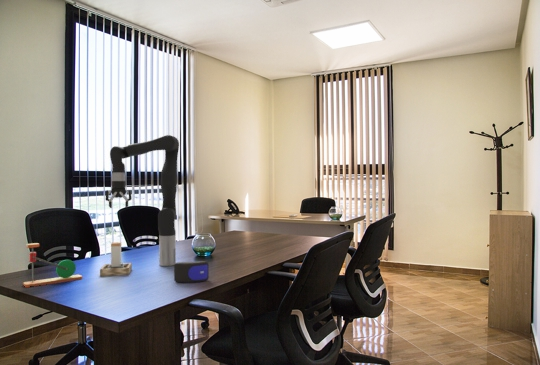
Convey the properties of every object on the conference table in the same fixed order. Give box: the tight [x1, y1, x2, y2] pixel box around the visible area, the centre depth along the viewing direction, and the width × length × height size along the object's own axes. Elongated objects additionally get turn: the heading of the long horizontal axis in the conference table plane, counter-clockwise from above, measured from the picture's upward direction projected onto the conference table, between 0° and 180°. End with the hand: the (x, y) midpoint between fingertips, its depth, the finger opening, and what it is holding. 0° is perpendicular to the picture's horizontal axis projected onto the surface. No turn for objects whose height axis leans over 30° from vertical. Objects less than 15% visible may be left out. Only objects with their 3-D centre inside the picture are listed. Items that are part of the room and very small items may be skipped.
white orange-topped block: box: [110, 241, 122, 267], centre depth 215 cm, size 4×4×15 cm
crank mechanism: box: [22, 242, 83, 288], centre depth 195 cm, size 25×7×19 cm, turn 133°
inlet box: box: [99, 262, 133, 277], centre depth 215 cm, size 14×14×4 cm
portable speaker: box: [173, 260, 210, 284], centre depth 193 cm, size 16×5×9 cm, turn 103°
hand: (118, 207), depth 239 cm, fingers open, 8 cm apart
